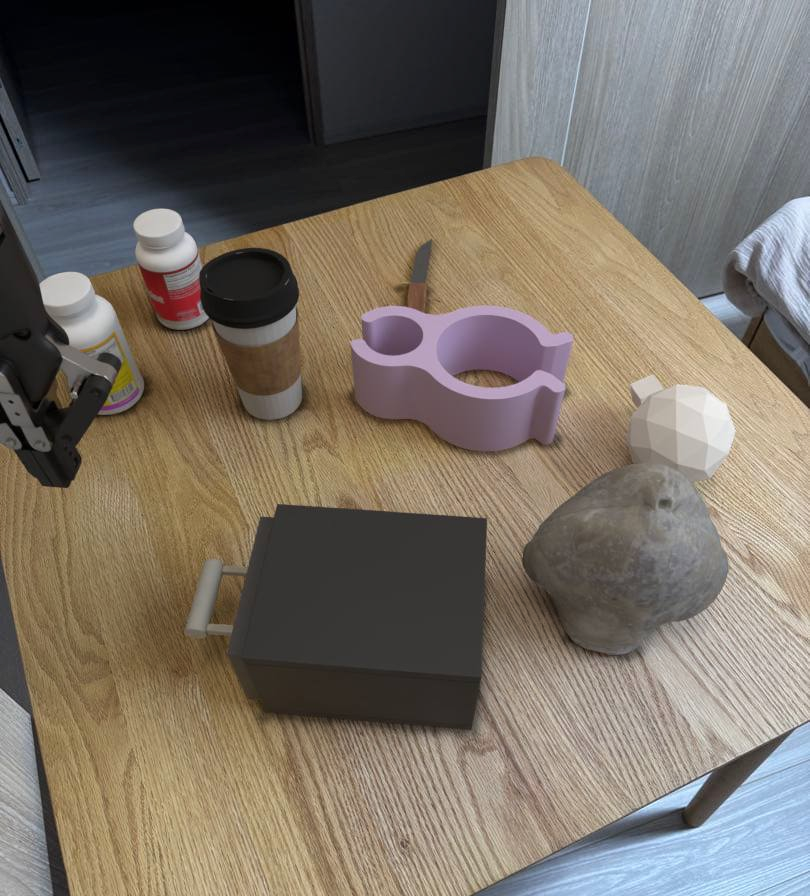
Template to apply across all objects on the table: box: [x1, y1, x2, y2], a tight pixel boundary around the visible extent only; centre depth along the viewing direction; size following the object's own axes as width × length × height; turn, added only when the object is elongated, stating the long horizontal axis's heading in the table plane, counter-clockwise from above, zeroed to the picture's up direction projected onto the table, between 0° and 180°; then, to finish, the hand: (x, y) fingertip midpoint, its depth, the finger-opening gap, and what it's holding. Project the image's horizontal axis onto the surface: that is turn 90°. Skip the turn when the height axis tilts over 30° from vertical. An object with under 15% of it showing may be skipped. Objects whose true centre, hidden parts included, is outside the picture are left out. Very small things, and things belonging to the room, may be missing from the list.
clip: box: [350, 304, 575, 452], centre depth 72 cm, size 20×12×7 cm, turn 77°
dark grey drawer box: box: [242, 503, 488, 731], centre depth 56 cm, size 16×13×10 cm
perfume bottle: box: [625, 373, 737, 484], centre depth 67 cm, size 9×9×12 cm
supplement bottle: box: [39, 271, 145, 416], centre depth 70 cm, size 7×7×13 cm
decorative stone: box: [521, 463, 730, 656], centre depth 56 cm, size 15×10×15 cm
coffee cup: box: [199, 247, 303, 421], centre depth 69 cm, size 8×8×15 cm
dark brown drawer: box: [184, 516, 274, 701], centre depth 56 cm, size 19×11×8 cm, turn 85°
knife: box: [400, 238, 433, 313], centre depth 84 cm, size 17×1×3 cm
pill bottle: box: [133, 208, 210, 331], centre depth 78 cm, size 6×6×11 cm
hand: (62, 476), depth 46 cm, fingers closed
